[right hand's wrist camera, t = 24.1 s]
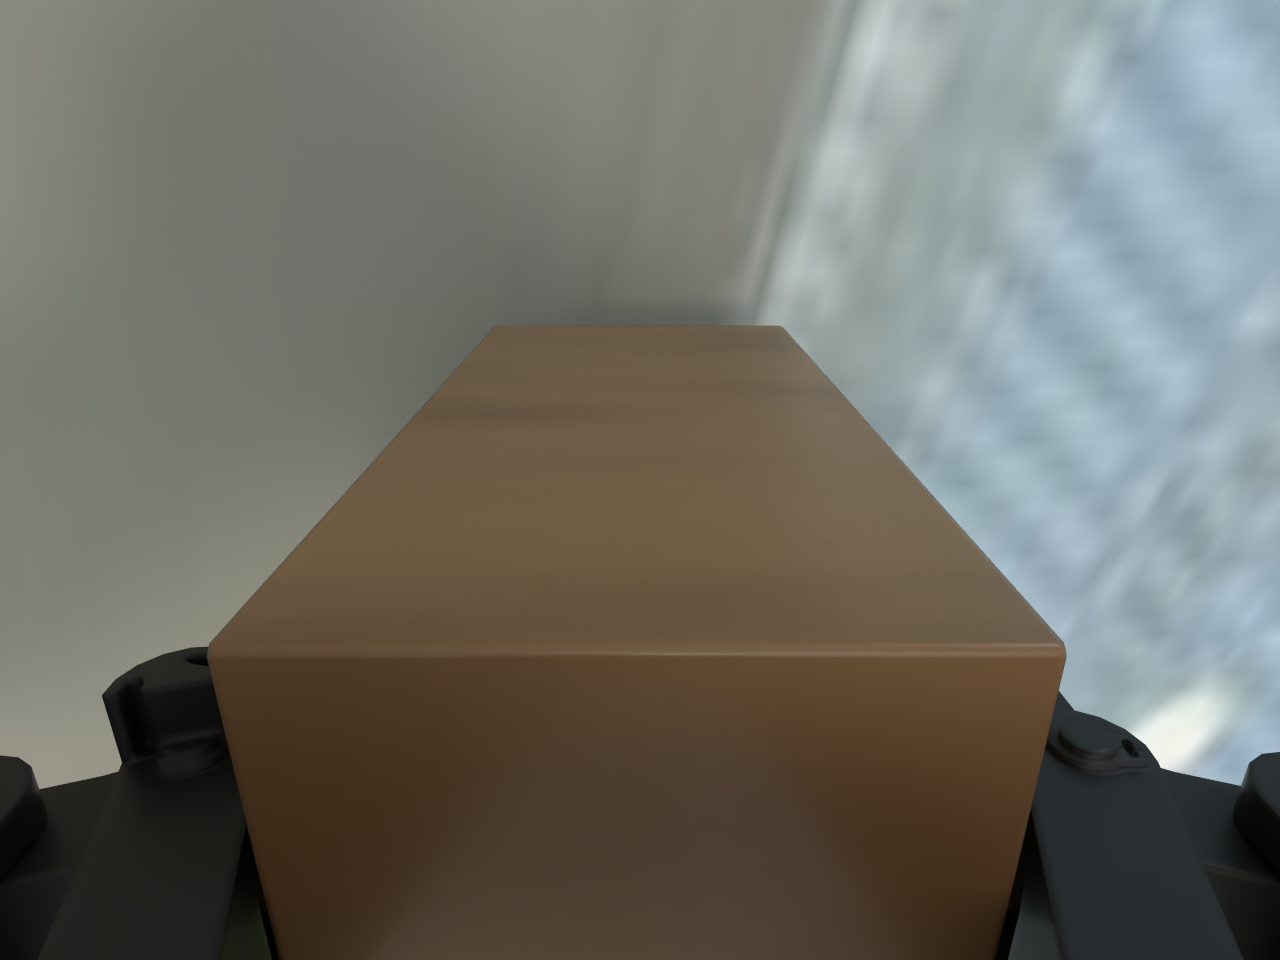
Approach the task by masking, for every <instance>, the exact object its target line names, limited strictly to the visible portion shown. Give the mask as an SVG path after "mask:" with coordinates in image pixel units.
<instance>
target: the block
mask: <svg viewBox="0 0 1280 960" xmlns="http://www.w3.org/2000/svg"><path fill="white" fill-rule="evenodd" d="M1066 657H1067V656H1066V649H1065V646H1064V642H1063V641H1062V640H1061V639H1060V638H1059V637H1058V636H1057V634H1056V633H1055V632H1054V631H1053V630H1052V629H1051V628H1050V627H1049V625H1048V624H1047V623H1046V622H1045V621H1044V620H1043V619H1042V618H1041V616H1040V615H1039V614H1038V613H1037V612H1036V611H1035V610H1034V609H1033V607H1032V606H1031V605H1030V604H1029V603H1028V602H1027V601H1026V600H1025V598H1024V597H1023V596H1022V595H1021V594H1020V593H1019V592H1018V591H1017V590H1016V588H1015V587H1014V586H1013V585H1012V584H1011V583H1010V582H1009V581H1008V579H1007V578H1006V577H1005V576H1004V575H1003V574H1002V573H1001V572H1000V570H999V569H998V568H997V567H996V566H995V565H994V564H993V563H992V561H991V560H990V559H989V558H988V557H987V556H986V555H985V554H984V552H983V551H982V550H981V549H980V548H979V547H978V546H977V545H976V543H975V542H974V541H973V540H972V539H971V538H970V537H969V536H968V534H967V533H966V532H965V531H964V530H963V529H962V528H961V527H960V526H959V524H958V523H957V522H956V521H955V520H954V519H953V518H952V517H951V515H950V514H949V513H948V512H947V511H946V510H945V509H944V508H943V506H942V505H941V504H940V503H939V502H938V501H937V500H936V499H935V497H934V496H933V495H932V494H931V493H930V492H929V491H928V490H927V488H926V487H925V486H924V485H923V484H922V483H921V482H920V481H919V479H918V478H917V477H916V476H915V475H914V474H913V473H912V472H911V470H910V469H909V468H908V467H907V466H906V465H905V464H904V463H903V462H902V460H901V459H900V458H899V457H898V456H897V455H896V454H895V453H894V451H893V450H892V449H891V448H890V447H889V446H888V445H887V444H886V442H885V441H884V440H883V439H882V438H881V437H880V436H879V435H878V433H877V432H876V431H875V430H874V429H873V428H872V427H871V426H870V424H869V423H868V422H867V421H866V420H865V419H864V418H863V417H862V415H861V414H860V413H859V412H858V411H857V410H856V409H855V408H854V406H853V405H852V404H851V403H850V402H849V401H848V400H847V399H846V398H845V396H844V395H843V394H842V393H841V392H840V391H839V390H838V389H837V387H836V386H835V385H834V384H833V383H832V382H831V381H830V380H829V378H828V377H827V376H826V375H825V374H824V373H823V372H822V371H821V369H820V368H819V367H818V366H817V365H816V364H815V363H814V362H813V360H812V359H811V358H810V357H809V356H808V355H807V354H806V353H805V351H804V350H803V349H802V348H801V347H800V346H799V345H798V344H797V342H796V341H795V340H794V339H793V338H792V337H791V336H790V335H789V334H788V332H787V331H786V330H785V329H784V328H783V327H781V326H496V327H494V328H493V329H492V330H491V331H490V332H489V333H488V335H487V336H486V337H485V338H484V339H483V340H482V341H481V342H480V343H479V345H478V346H477V347H476V348H475V349H474V350H473V351H472V352H471V353H470V355H469V356H468V357H467V358H466V359H465V360H464V361H463V362H462V363H461V365H460V366H459V367H458V368H457V369H456V370H455V371H454V372H453V373H452V375H451V376H450V377H449V378H448V379H447V380H446V381H445V382H444V383H443V385H442V386H441V387H440V388H439V389H438V390H437V391H436V392H435V393H434V395H433V396H432V397H431V398H430V399H429V400H428V401H427V402H426V403H425V405H424V406H423V407H422V408H421V409H420V410H419V411H418V412H417V413H416V415H415V416H414V417H413V418H412V419H411V420H410V421H409V422H408V423H407V425H406V426H405V427H404V428H403V429H402V430H401V431H400V432H399V433H398V435H397V436H396V437H395V438H394V439H393V440H392V441H391V442H390V443H389V445H388V446H387V447H386V448H385V449H384V450H383V451H382V452H381V453H380V455H379V456H378V457H377V458H376V459H375V460H374V461H373V462H372V463H371V465H370V466H369V467H368V468H367V469H366V470H365V471H364V472H363V473H362V475H361V476H360V477H359V478H358V479H357V480H356V481H355V482H354V483H353V485H352V486H351V487H350V488H349V489H348V490H347V491H346V492H345V493H344V495H343V496H342V497H341V498H340V499H339V500H338V501H337V502H336V503H335V505H334V506H333V507H332V508H331V509H330V510H329V511H328V512H327V513H326V515H325V516H324V517H323V518H322V519H321V520H320V521H319V522H318V523H317V525H316V526H315V527H314V528H313V529H312V530H311V531H310V532H309V533H308V535H307V536H306V537H305V538H304V539H303V540H302V541H301V542H300V543H299V545H298V546H297V547H296V548H295V549H294V550H293V551H292V552H291V553H290V555H289V556H288V557H287V558H286V559H285V560H284V561H283V562H282V563H281V565H280V566H279V567H278V568H277V569H276V570H275V571H274V572H273V573H272V574H271V576H270V577H269V578H268V579H267V580H266V581H265V582H264V583H263V584H262V586H261V587H260V588H259V589H258V590H257V591H256V592H255V593H254V594H253V596H252V597H251V598H250V599H249V600H248V601H247V602H246V603H245V604H244V606H243V607H242V608H241V609H240V610H239V611H238V612H237V613H236V614H235V616H234V617H233V618H232V619H231V620H230V621H229V622H228V623H227V624H226V626H225V627H224V628H223V629H222V630H221V631H220V632H219V633H218V634H217V636H216V637H215V638H214V639H213V640H212V641H211V642H210V644H209V647H208V652H207V660H208V664H209V668H210V672H211V677H212V681H213V685H214V689H215V693H216V698H217V702H218V706H219V710H220V714H221V718H222V723H223V727H224V731H225V735H226V739H227V744H228V748H229V752H230V756H231V760H232V764H233V769H234V773H235V777H236V781H237V785H238V790H239V794H240V798H241V802H242V806H243V810H244V815H245V819H246V823H247V827H248V831H249V836H250V840H251V844H252V848H253V852H254V856H255V861H256V865H257V869H258V873H259V877H260V881H261V886H262V890H263V894H264V898H265V902H266V907H267V911H268V915H269V919H270V923H271V927H272V932H273V936H274V940H275V944H276V948H277V953H278V957H279V960H995V959H996V955H997V951H998V946H999V942H1000V938H1001V934H1002V929H1003V925H1004V921H1005V917H1006V912H1007V908H1008V904H1009V900H1010V895H1011V891H1012V887H1013V882H1014V878H1015V874H1016V870H1017V865H1018V861H1019V857H1020V853H1021V848H1022V844H1023V840H1024V836H1025V831H1026V827H1027V823H1028V819H1029V814H1030V810H1031V806H1032V801H1033V797H1034V793H1035V789H1036V784H1037V780H1038V776H1039V772H1040V767H1041V763H1042V759H1043V755H1044V750H1045V746H1046V742H1047V738H1048V733H1049V729H1050V725H1051V720H1052V716H1053V712H1054V708H1055V703H1056V699H1057V695H1058V691H1059V686H1060V682H1061V678H1062V674H1063V669H1064V665H1065V661H1066Z"/></svg>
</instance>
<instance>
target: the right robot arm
mask: <svg viewBox="0 0 1280 960" xmlns="http://www.w3.org/2000/svg"><path fill="white" fill-rule="evenodd" d="M207 652H208V647H194V648H188V649H184V650H179V651H175V652H171V653H167V654H163V655H161V656H158V657H156V658H153V659H151V660H149V661H146V662H144V663H141V664H139V665H137V666H135V667H134V668H132V669H131V670H129V671H128V672H126V673H125V674H123V675H122V676H120V677H119V678H117V679H116V680H115V681H114V682H113V683H112V684H111V685H110V686H109V688H108V689H107V690H106V691H105V692H104V693H103V695H102V698H103V701H104V704H105V707H106V711H107V714H108V717H109V721H110V724H111V727H112V731H113V734H114V737H115V741H116V744H117V747H118V751H119V754H120V757H121V761H122V765H121V767H120V769H119V772H115V773H112V774H108V775H105V776H100V777H96V778H91V779H86V780H81V781H77V782H72V783H67V784H63V785H58V786H53V787H49V788H44V789H39V787H38V784H37V782H36V779H35V776H34V773H33V770H32V768H31V766H30V765H28V764H27V763H26V762H24V761H23V760H21V759H20V758H18V757H9V756H0V960H279V957H278V953H277V948H276V944H275V940H274V936H273V932H272V927H271V923H270V919H269V915H268V911H267V907H266V902H265V898H264V894H263V890H262V886H261V881H260V877H259V873H258V869H257V865H256V861H255V856H254V852H253V848H252V844H251V840H250V836H249V831H248V827H247V823H246V819H245V815H244V810H243V806H242V802H241V798H240V794H239V790H238V785H237V781H236V777H235V773H234V769H233V764H232V760H231V756H230V752H229V748H228V744H227V739H226V735H225V731H224V727H223V723H222V718H221V714H220V710H219V706H218V702H217V698H216V693H215V689H214V685H213V681H212V677H211V672H210V668H209V664H208V660H207ZM995 960H1280V752H1276V753H1266V754H1261V755H1260V756H1258V757H1257V758H1256V759H1254V760H1253V761H1251V762H1250V763H1249V765H1248V768H1247V771H1246V774H1245V777H1244V779H1243V782H1242V785H1241V786H1238V785H1234V784H1229V783H1224V782H1219V781H1215V780H1210V779H1205V778H1200V777H1196V776H1191V775H1186V774H1181V773H1177V772H1173V771H1169V770H1166V769H1162V768H1160V765H1159V763H1158V761H1157V760H1156V759H1155V757H1154V756H1153V754H1152V753H1151V752H1150V750H1149V749H1148V748H1147V746H1146V745H1145V744H1144V743H1142V742H1141V741H1140V740H1138V739H1137V738H1136V737H1135V736H1133V735H1132V734H1131V733H1129V732H1128V731H1127V730H1125V729H1123V728H1121V727H1119V726H1117V725H1115V724H1113V723H1111V722H1109V721H1107V720H1104V719H1102V718H1100V717H1097V716H1093V715H1090V714H1086V713H1082V712H1078V711H1075V710H1074V709H1073V708H1072V707H1071V706H1070V704H1069V703H1068V702H1067V701H1066V699H1065V698H1064V697H1063V696H1062V694H1061V693H1060V692H1059V691H1058V695H1057V699H1056V703H1055V708H1054V712H1053V716H1052V720H1051V725H1050V729H1049V733H1048V738H1047V742H1046V746H1045V750H1044V755H1043V759H1042V763H1041V767H1040V772H1039V776H1038V780H1037V784H1036V789H1035V793H1034V797H1033V801H1032V806H1031V810H1030V814H1029V819H1028V823H1027V827H1026V831H1025V836H1024V840H1023V844H1022V848H1021V853H1020V857H1019V861H1018V865H1017V870H1016V874H1015V878H1014V882H1013V887H1012V891H1011V895H1010V900H1009V904H1008V908H1007V912H1006V917H1005V921H1004V925H1003V929H1002V934H1001V938H1000V942H999V946H998V951H997V955H996V959H995Z"/></svg>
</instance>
